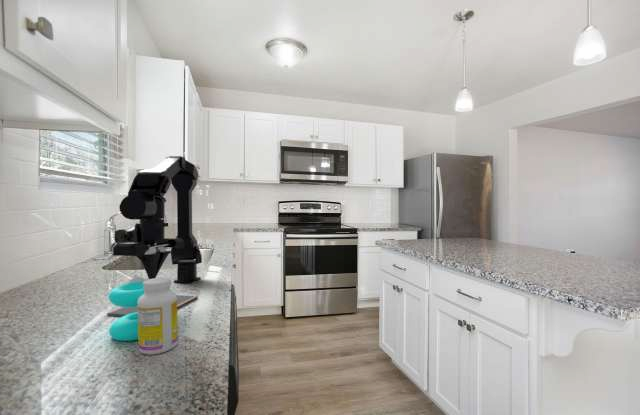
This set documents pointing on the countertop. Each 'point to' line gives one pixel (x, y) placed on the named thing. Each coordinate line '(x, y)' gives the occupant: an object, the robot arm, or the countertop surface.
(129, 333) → the donuts
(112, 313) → the mat
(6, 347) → the countertop surface
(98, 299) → the countertop surface
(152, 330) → the supplement bottle
